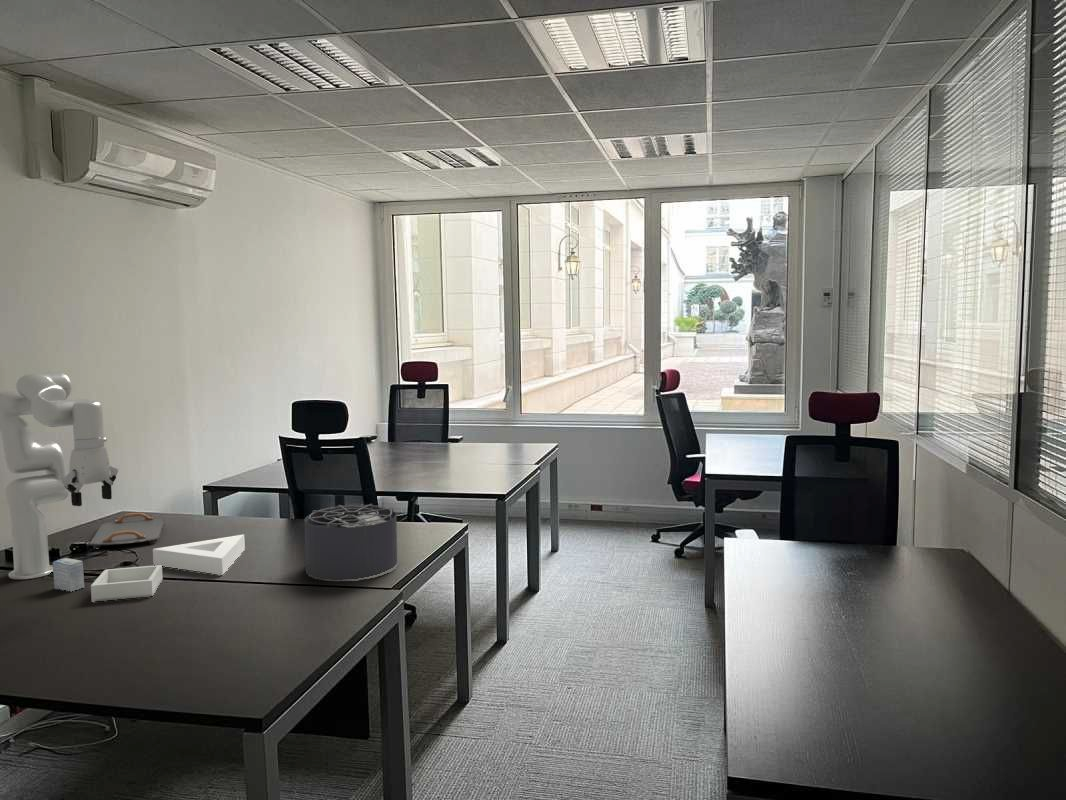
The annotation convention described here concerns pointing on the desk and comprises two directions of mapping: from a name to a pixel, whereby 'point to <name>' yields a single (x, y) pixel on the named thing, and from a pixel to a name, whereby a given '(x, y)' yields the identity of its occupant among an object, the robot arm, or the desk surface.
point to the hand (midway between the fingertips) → (92, 502)
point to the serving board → (129, 531)
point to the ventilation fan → (350, 542)
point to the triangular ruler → (202, 555)
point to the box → (126, 583)
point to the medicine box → (68, 574)
